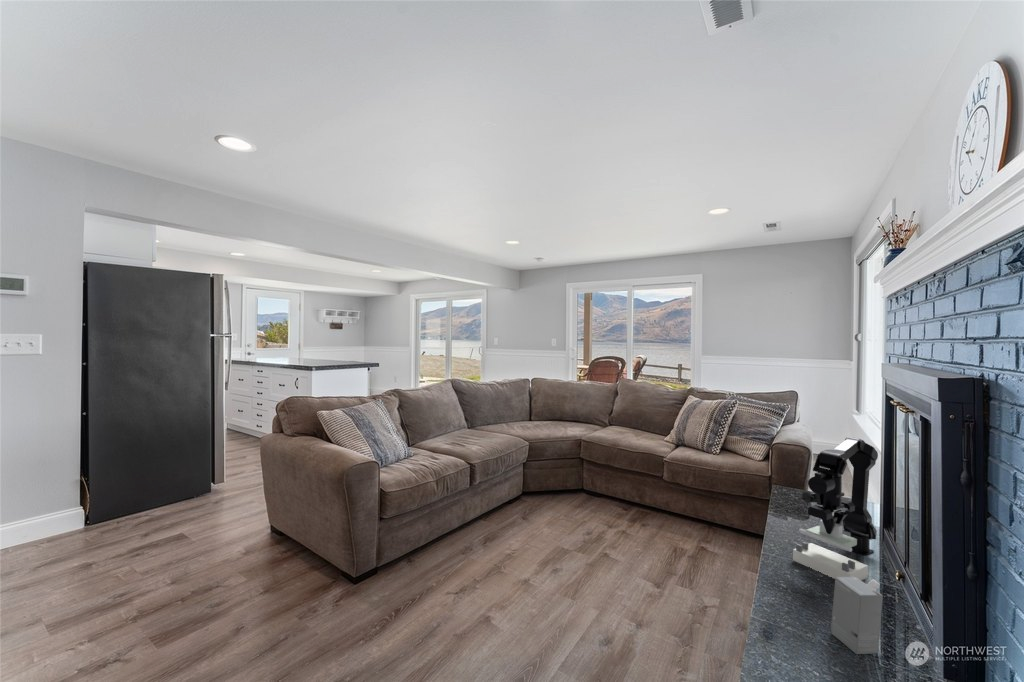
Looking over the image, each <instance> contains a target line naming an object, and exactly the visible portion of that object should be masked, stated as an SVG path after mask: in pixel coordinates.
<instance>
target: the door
mask: <svg viewBox="0 0 1024 682" xmlns="http://www.w3.org/2000/svg"><path fill="white" fill-rule="evenodd" d="M843 531H844V526H843V524H840V525H839V524H836V523H835V525H834V528H833V530H832V532H831V534H828V533H827V532H826V529H825V527H824V524H823V521H822V519H820V520H819V525H816V526H813V527H810V528H807V529H804V528H799V530H798V532H799V533H801V534H803V535H805V536H807V537H810V538H811V539H815V540H818V541H819V542H822V543H825V544H828V545H830V546H833V547H834V548H837V549H841V550H843V551H847V552H849V553H850V552H851V553H852V552H853V551H852V548H851V547H853V546H855V545H857V539H855V538H852V537H850V536H849V535H846V534H844V533H843Z"/></svg>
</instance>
